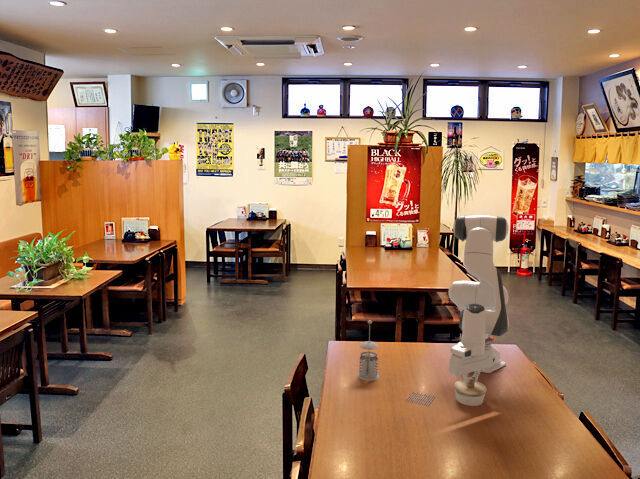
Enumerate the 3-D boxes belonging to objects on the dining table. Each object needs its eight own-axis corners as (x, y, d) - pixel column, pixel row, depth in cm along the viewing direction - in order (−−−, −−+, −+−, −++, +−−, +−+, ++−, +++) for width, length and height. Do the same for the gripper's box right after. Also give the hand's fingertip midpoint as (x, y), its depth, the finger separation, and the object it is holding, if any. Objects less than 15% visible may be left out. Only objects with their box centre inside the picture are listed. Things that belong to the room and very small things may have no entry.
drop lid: (470, 379, 224) (470, 370, 224) (493, 390, 214) (493, 381, 213) (447, 385, 218) (448, 376, 217) (470, 397, 208) (470, 387, 207)
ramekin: (448, 403, 217) (449, 390, 216) (463, 394, 225) (464, 382, 224) (475, 413, 209) (476, 399, 208) (489, 403, 217) (490, 390, 217)
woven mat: (402, 406, 215) (403, 401, 215) (412, 395, 224) (412, 390, 224) (429, 412, 210) (429, 407, 210) (437, 401, 219) (437, 396, 219)
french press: (380, 372, 246) (382, 317, 242) (378, 383, 234) (380, 325, 230) (358, 370, 247) (359, 316, 243) (355, 381, 236) (356, 324, 232)
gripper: (485, 340, 221) (483, 373, 224) (447, 349, 211) (445, 384, 213) (497, 345, 216) (495, 379, 218) (459, 354, 206) (457, 390, 208)
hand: (470, 381), depth 216 cm, fingers closed on drop lid, 3 cm apart
